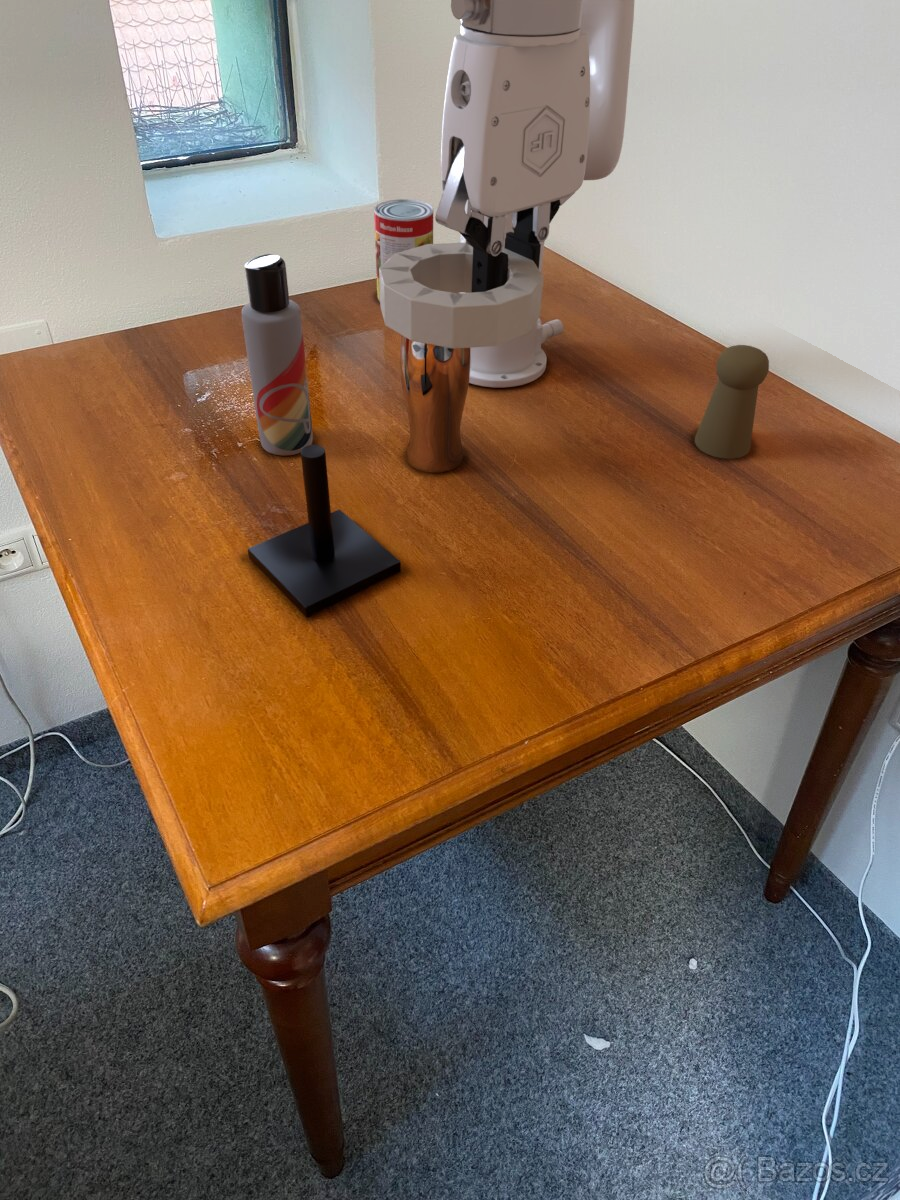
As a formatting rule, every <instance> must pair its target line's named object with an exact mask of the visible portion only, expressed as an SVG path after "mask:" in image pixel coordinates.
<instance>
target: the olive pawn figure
mask: <svg viewBox="0 0 900 1200" xmlns="http://www.w3.org/2000/svg"><path fill="white" fill-rule="evenodd" d="M715 370H716V372H715V373H716V375H717V382H716V384H715V386H714V389H713V391H712V394H711V396H710V399H709V401H708V404H707V407H706V408H705V411H704V414H703V415H702V419H701V421H700V424H699V426H698V429H697V431H696V434H695V436H694V444H695V446H696V448H698V450H700V451H701V452H703V453H705V454H706V455H708V456H711V457H715V458H717V459H718V458H719V459H723V460H725V459H726V460H731V459H733V460H735V459H739V458H743V457H745V456H746V455H748V454H749V452H750V451H751V445H752V438H753V437H752V436H753V430H754V421H755V416H756V407H757V401H758V392H759V386H760V385H761V384H762V383H763V382H764V381H765V380H766V378H767V376H768V375H769V370H770V360H769V358H768V356H767V354H766V352H764V351H763V350H761V349H760V348H757V347H755V346H752V345H746V344H736V345H731V346H728V347H726V348H725V349H724V350H723V351H722V352H721V353H720V354H719V356H718V358H717V361H716V365H715Z"/></svg>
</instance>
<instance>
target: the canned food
mask: <svg viewBox="0 0 900 1200" xmlns="http://www.w3.org/2000/svg"><path fill="white" fill-rule="evenodd" d="M373 218H374V240H375V241H374V243H375V244H374V245H375V247H374V248H375V271H376V272H375V273H376V291H377V292H376V297H377V299H378V302H380V278H379V268H380V267H381V266H382V265H383V264H384V263H385V262H386V261H388V260H389V259H390V258H391V257H392V256H393V255H394V254H395V253H398V252H402V251H405V250H409V249H412V248H416V247H419V246H423V245H426V244H434V208H433V206H432V205H431V204H429V203H427V202H425V201H422V200H417V199H410V198H409V199H408V198H399V199H398V198H397V199H390V200H385V201H381V202H379V203H378V204H376V205H375V206H374V209H373Z"/></svg>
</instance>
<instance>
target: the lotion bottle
mask: <svg viewBox="0 0 900 1200" xmlns="http://www.w3.org/2000/svg"><path fill="white" fill-rule="evenodd" d="M244 274H245V280H246V286H247V293H248V300H249V302H248V303H246V304H245V305H244V306H243V307H242V309H241V322H242V329H243V335H244V342H245V348H246V355H247V363H248V369H249V376H250V384H251V389H252V396H253V404H254V410H255V417H256V423H257V430H258V436H259V441H260V444H261V447H262V448H263V449H264V450H265V451H266V452H267V453H269V454H271V455H275V456H284V457H285V456H286V457H287V456H293V455H298V454H301V450H302V449H303V448H304V447H306V446H309V445H313V440H314V439H313V438H314V436H313V435H314V434H313V433H314V432H313V422H312V412H311V402H310V401H311V400H310V393H309V384H308V383H309V382H308V373H307V363H306V351H305V344H304V333H303V323H302V314H301V308H300V306H299V304H297V302H295V301H293V300H291V299H290V293H289V284H288V275H287V264H286V261H285V260H284V259H283V257H281V256H280V255H277V254H273V253H268V254H265V253H264V254H261V255H258V256H255V257H253V258H251V259H250V260H248V262H246V263H245V264H244Z"/></svg>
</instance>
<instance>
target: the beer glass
mask: <svg viewBox="0 0 900 1200" xmlns="http://www.w3.org/2000/svg"><path fill="white" fill-rule="evenodd" d="M399 348H400V349H399V367H400V368H399V369H400V370H399V371H400V382H401V387H402V393H403V399H404V404H405V408H406V412H407V417H408V423H409V438H408V444H407V448H406V455H405V457H406V461H407V463H408V465H410V466H411V467H412V468H414V469H415V470H418V471H421V472H425V473H430V474H439V473H446V472H450V471H453V470H454V469H456V468H457V467H459V466H460V465H461V464H462V462H463V459H464V451H463V445H462V440H461V439H462V438H461V423H462V418H463V413H464V409H465V405H466V399H467V395H468V391H469V385H470V383H469V380H470V368H471V348H456V349H453V348H447V347H442V346H437V345H431V344H426V343H420V342H415V341H411V340H409V339H408V338H406V337H404V336H402V335H401V334H400V347H399Z"/></svg>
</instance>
